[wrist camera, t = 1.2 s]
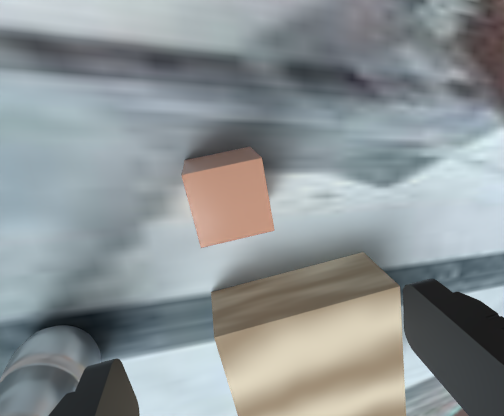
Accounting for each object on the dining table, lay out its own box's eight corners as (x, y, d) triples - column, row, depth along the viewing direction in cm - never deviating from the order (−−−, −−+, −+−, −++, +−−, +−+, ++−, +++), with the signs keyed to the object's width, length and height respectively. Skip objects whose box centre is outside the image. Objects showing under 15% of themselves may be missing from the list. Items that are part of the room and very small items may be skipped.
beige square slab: (211, 290, 28) (214, 337, 23) (361, 250, 30) (399, 286, 24) (244, 403, 33) (253, 465, 28) (372, 365, 34) (405, 417, 29)
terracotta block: (184, 159, 24) (181, 175, 20) (249, 146, 25) (261, 157, 20) (200, 220, 26) (200, 247, 21) (260, 207, 26) (274, 230, 22)
